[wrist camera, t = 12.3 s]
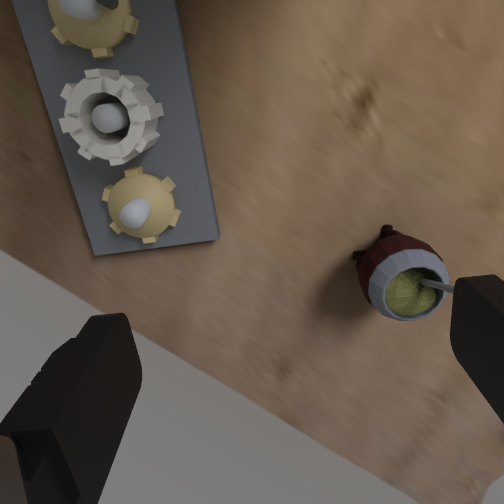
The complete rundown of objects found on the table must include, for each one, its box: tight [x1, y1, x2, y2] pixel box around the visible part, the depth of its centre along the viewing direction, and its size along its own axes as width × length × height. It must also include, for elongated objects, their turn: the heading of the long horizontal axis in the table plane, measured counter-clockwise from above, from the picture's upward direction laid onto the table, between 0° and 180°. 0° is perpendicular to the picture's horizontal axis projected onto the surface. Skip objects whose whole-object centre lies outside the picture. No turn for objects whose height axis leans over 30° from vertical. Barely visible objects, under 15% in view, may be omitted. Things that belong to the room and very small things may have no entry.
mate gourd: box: [353, 225, 454, 321], centre depth 32 cm, size 8×8×15 cm
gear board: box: [12, 0, 220, 256], centre depth 31 cm, size 24×12×6 cm, turn 8°
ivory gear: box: [59, 68, 164, 166], centre depth 31 cm, size 7×7×4 cm
